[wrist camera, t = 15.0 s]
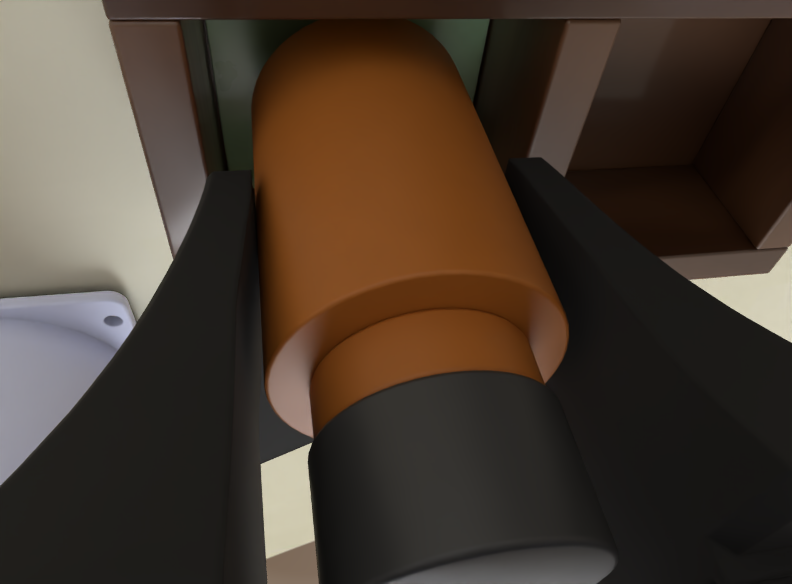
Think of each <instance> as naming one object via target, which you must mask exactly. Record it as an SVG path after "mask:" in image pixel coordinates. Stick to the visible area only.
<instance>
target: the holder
mask: <svg viewBox="0 0 792 584" xmlns="http://www.w3.org/2000/svg"><path fill="white" fill-rule="evenodd" d="M102 3H103V7H104V10H105V14H106V16H107V18H108V19H110V20H109V27H110V31H111V35H112V38H113V42H114V46H115V49H116V53H117V56H118V60H119V64H120V67H121V71H122V75H123V78H124V82H125V86H126V89H127V93H128V97H129V100H130V104H131V107H132V111H133V115H134V118H135V122H136V126H137V129H138V133H139V137H140V140H141V144H142V148H143V151H144V155H145V158H146V162H147V166H148V169H149V173H150V177H151V180H152V184H153V188H154V191H155V195H156V199H157V202H158V206H159V209H160V213H161V217H162V220H163V224H164V228H165V231H166V235H167V239H168V242H169V246H170V250H171V253H172V257H173V260H174V258H175V256H176V254H177V252H178V250H179V247H180V245H181V243H182V241H183V239H184V237H185V235H186V233H187V231H188V229H189V226H190V224H191V222H192V219H193V217H194V215H195V212H196V210H197V207H198V204H199V202H200V199H201V196H202V193H203V190H204V187H205V183H206V179H207V177H208V176H209V175H210V174H211V173H212V172H213V171H236V170H251V177H252V185H253V194H254V202H255V182H254V161H253V140H252V118H251V104H252V96H253V91H254V88H255V84H256V81H257V79H258V77H259V74H260V72H261V70H262V68H263V67H264V65H265V63H266V62H267V60H268V59H269V57H270V56H271V55H272V54H273V53H274V51H275V50H276V49H277V48H278V47H279V46H280V45H281V44H282V43H283V42H284V41H285V40H287V39H288V38H289V37H290V36H291V35H293V34H294V33H296V32H297V31H299V30H300V29H302V28H303V27H305V26H307V25H309V24H311V23H313V22H315V21H317V20H320V19H406V20H409V21H411V22H413V23H415V24H417V25H419V26H420V27H422V28H423V29H425V30H426V31H428V32H429V33H430V34H432V35H433V36H434V37H435V38H436V39H437V40H438V41H439V42H440V43H441V44H442V45H443V46H444V48H445V49H446V50H447V52H448V53H449V54H450V56H451V58H452V60H453V61H454V63H455V65H456V67H457V70H458V72H459V74H460V76H461V79H462V81H463V83H464V85H465V88H466V90H467V92H468V94H469V97H470V99H471V101H472V103H473V106H474V108H475V110H476V112H477V115H478V117H479V119H480V121H481V124H482V126H483V128H484V130H485V133H486V135H487V137H488V139H489V142H490V144H491V146H492V149H493V151H494V153H495V155H496V158H497V160H498V162H499V164H500V167H501V169H502V171H503V173H504V175H505V171H506V168H507V164H508V160H509V158H531V157H542V158H543V159H544V160H545V161H546V162H548V163H549V164H550V165H551V166H552V167H554V168H555V169H556V170H557V171H558V172H559V173H560V174H562V175H563V176H564V177H565V178H566V179H567V180H568V181H569V182H570V183H572V184H573V185H574V186H575V187H576V188H577V189H578V190H579V191H580V192H582V193H583V194H584V195H585V196H586V197H587V198H588V199H589V200H590V201H592V202H593V203H594V204H595V205H596V206H597V207H598V208H599V209H600V210H602V211H603V212H604V213H605V214H606V215H607V216H608V217H610V218H611V219H612V220H613V221H614V222H615V223H617V224H618V225H619V226H620V227H621V228H622V229H624V230H625V231H626V232H627V233H628V234H629V235H631V236H632V237H633V238H634V239H636V240H637V241H638V242H639V243H640V244H642V245H643V246H644V247H645V248H647V249H648V250H649V251H651V252H652V253H653V254H654V255H656V256H657V257H658V258H660V259H661V260H662V261H664V262H665V263H666V264H667V265H669V266H670V267H671V268H673V269H674V270H675V271H677V272H678V273H679V274H681V275H682V276H684V277H685V278H686V279H688V280H692V279H704V278H716V277H728V276H740V275H752V274H764V273H768V272H770V271H771V269H772V268H773V267H774V266H775V264H776V263H777V262H778V261H779V259H780V258H781V257H782V256H783V254H784V253H785V252H786V251H787V249H788V248H787V247H789V246H790V245H791V244H792V0H102ZM255 210H256V203H255Z"/></svg>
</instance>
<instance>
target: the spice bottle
mask: <svg viewBox="0 0 792 584" xmlns="http://www.w3.org/2000/svg"><path fill="white" fill-rule="evenodd" d="M251 118H252V140H253V161H254V182H255V203H256V224H257V245H258V267H259V288H260V309H261V330H262V351H263V372H264V389H265V393H266V397H267V400H268V401H269V403H270V405H271V407H272V409H273V410H274V412H275V413H276V414H277V415H278V416H279V417H280V419H281V420H282V421H284V422H285V423H286V424H288V425H289V426H290V427H292V428H293V429H295V430H297V431H299V432H301V433H302V434H305V435H307V436H310V437H312V438H314V440H313V443H312V446H311V448H310V451H309V455H308V469H309V480H310V491H311V502H312V513H313V524H314V535H315V546H316V556H317V568H318V578H319V584H596V583H598V582H599V581H601V580H602V579H603V578H604V577H606V576H607V575H608V574H609V573H610V572H611V571H612V570H613V569H614V568H615V567H616V565H617V563H618V558H619V551H618V548H617V546H616V543H615V541H614V538H613V536H612V533H611V531H610V528H609V525H608V523H607V520H606V518H605V515H604V513H603V510H602V508H601V505H600V502H599V500H598V497H597V495H596V492H595V490H594V487H593V485H592V482H591V479H590V477H589V474H588V472H587V469H586V467H585V464H584V462H583V459H582V456H581V454H580V451H579V449H578V446H577V444H576V441H575V439H574V436H573V433H572V431H571V428H570V426H569V423H568V421H567V418H566V416H565V413H564V410H563V408H562V405H561V403H560V400H559V399H558V397H557V396H556V395H555V394H554V393H553V392H552V391H551V390H550V389H549V388H548V387H546V385H545V383H546V382H547V381H548V380H549V379H550V377H551V376H552V375H553V374H554V373H555V371H556V370H557V368H558V367H559V365H560V363H561V362H562V360H563V358H564V355H565V353H566V350H567V346H568V341H569V323H568V320H567V316H566V313H565V311H564V309H563V306H562V304H561V302H560V300H559V297H558V295H557V293H556V291H555V288H554V286H553V284H552V282H551V279H550V277H549V275H548V273H547V270H546V268H545V266H544V264H543V261H542V259H541V257H540V255H539V252H538V250H537V248H536V245H535V243H534V241H533V239H532V236H531V234H530V232H529V230H528V227H527V225H526V223H525V221H524V218H523V216H522V214H521V212H520V209H519V207H518V205H517V203H516V200H515V198H514V196H513V194H512V191H511V189H510V187H509V185H508V182H507V180H506V178H505V176H504V173H503V171H502V169H501V167H500V164H499V162H498V160H497V158H496V155H495V153H494V151H493V149H492V146H491V144H490V142H489V139H488V137H487V135H486V133H485V130H484V128H483V126H482V124H481V121H480V119H479V117H478V115H477V112H476V110H475V108H474V106H473V103H472V101H471V99H470V97H469V94H468V92H467V90H466V88H465V85H464V83H463V81H462V79H461V76H460V74H459V72H458V70H457V67H456V65H455V63H454V61H453V60H452V58H451V56H450V54H449V53H448V52H447V50H446V49H445V48H444V46H443V45H442V44H441V43H440V42H439V41H438V40H437V39H436V38H435V37H434V36H433V35H432V34H430V33H429V32H428V31H426V30H425V29H423V28H422V27H420V26H419V25H417V24H415V23H413V22H411V21H409V20H406V19H320V20H317V21H315V22H313V23H311V24H309V25H307V26H305V27H303V28H302V29H300V30H299V31H297V32H296V33H294V34H293V35H291V36H290V37H289V38H288V39H287V40H285V41H284V42H283V43H282V44H281V45H280V46H279V47H278V48H277V49H276V50H275V51H274V53H273V54H272V55H271V56H270V57H269V59H268V60H267V62H266V63H265V65H264V67H263V68H262V70H261V72H260V74H259V77H258V79H257V81H256V84H255V88H254V91H253V96H252V104H251Z"/></svg>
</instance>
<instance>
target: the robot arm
mask: <svg viewBox="0 0 792 584" xmlns="http://www.w3.org/2000/svg"><path fill="white" fill-rule="evenodd" d="M504 176H505V178H506V180H507V182H508V185H509V187H510V189H511V191H512V194H513V196H514V198H515V200H516V203H517V205H518V207H519V209H520V212H521V214H522V216H523V218H524V221H525V223H526V225H527V227H528V230H529V232H530V234H531V236H532V239H533V241H534V243H535V245H536V248H537V250H538V252H539V255H540V257H541V259H542V261H543V264H544V266H545V268H546V270H547V273H548V275H549V277H550V279H551V282H552V284H553V286H554V288H555V291H556V293H557V295H558V297H559V300H560V302H561V304H562V306H563V309H564V311H565V313H566V316H567V320H568V323H569V341H568V346H567V350H566V353H565V355H564V358H563V360H562V362H561V363H560V365H559V367H558V368H557V370H556V371H555V373H554V374H553V375H552V376H551V377H550V379H549V380H548V381H547V382H546V383H545V385H546V387H548V388H549V389H550V390H551V391H552V392H553V393H554V394H555V395H556V396H557V397H558V399H559V400H560V403H561V405H562V408H563V410H564V413H565V416H566V418H567V421H568V423H569V426H570V428H571V431H572V433H573V436H574V439H575V441H576V444H577V446H578V449H579V451H580V454H581V456H582V459H583V462H584V464H585V467H586V469H587V472H588V474H589V477H590V479H591V482H592V485H593V487H594V490H595V492H596V495H597V497H598V500H599V502H600V505H601V508H602V510H603V513H604V515H605V518H606V520H607V523H608V525H609V528H610V531H611V533H612V536H613V538H614V541H615V543H616V546H617V548H618V551H619V558H618V563H617V565H616V567H615V568H614V569H613V570H612V571H611V572H610V573H609V574H608V575H607V576H606V577H604V578H603V579H602V580H601V581H599V582H598V583H596V584H792V343H791V342H789V341H787V340H785V339H783V338H782V337H780V336H778V335H776V334H775V333H773V332H771V331H769V330H768V329H766V328H764V327H762V326H761V325H759V324H757V323H755V322H753V321H752V320H750V319H748V318H746V317H745V316H743V315H742V314H740V313H738V312H737V311H735V310H733V309H732V308H730V307H728V306H727V305H725V304H724V303H722V302H721V301H719V300H718V299H716V298H715V297H713V296H712V295H710V294H709V293H707V292H706V291H704V290H703V289H701V288H700V287H698V286H697V285H695V284H694V283H692V282H691V281H689V280H688V279H686V278H685V277H684V276H682V275H681V274H679V273H678V272H677V271H675V270H674V269H673V268H671V267H670V266H669V265H667V264H666V263H665V262H664V261H662V260H661V259H660V258H658V257H657V256H656V255H654V254H653V253H652V252H651V251H649V250H648V249H647V248H645V247H644V246H643V245H642V244H640V243H639V242H638V241H637V240H636V239H634V238H633V237H632V236H631V235H629V234H628V233H627V232H626V231H625V230H624V229H622V228H621V227H620V226H619V225H618V224H617V223H615V222H614V221H613V220H612V219H611V218H610V217H608V216H607V215H606V214H605V213H604V212H603V211H602V210H600V209H599V208H598V207H597V206H596V205H595V204H594V203H593V202H592V201H590V200H589V199H588V198H587V197H586V196H585V195H584V194H583V193H582V192H580V191H579V190H578V189H577V188H576V187H575V186H574V185H573V184H572V183H570V182H569V181H568V180H567V179H566V178H565V177H564V176H563V175H562V174H560V173H559V172H558V171H557V170H556V169H555V168H554V167H552V166H551V165H550V164H549V163H548V162H546V161H545V160H544V159H543V158H542V157H531V158H509V160H508V164H507V168H506V171H505V175H504ZM261 366H262V330H261V309H260V288H259V267H258V245H257V224H256V210H255V202H254V194H253V185H252V177H251V170H236V171H213V172H212V173H211V174H210V175H209V176H208V177H207V179H206V183H205V187H204V190H203V193H202V196H201V199H200V202H199V204H198V207H197V210H196V212H195V215H194V217H193V219H192V222H191V224H190V226H189V229H188V231H187V233H186V235H185V237H184V239H183V241H182V243H181V245H180V247H179V250H178V252H177V254H176V256H175V258H174V260H173V262H172V264H171V266H170V268H169V269H168V271H167V273H166V275H165V277H164V278H163V280H162V282H161V283H160V285H159V287H158V289H157V290H156V292H155V294H154V296H153V297H152V299H151V301H150V303H149V304H148V306H147V308H146V309H145V311H144V312H143V314H142V315H141V317H140V319H139V320H138V322H137V323H136V321H135V318H134V315H133V313H132V310H131V307H130V305H129V302H128V300H127V299H126V297H125V296H123V295H122V294H120V293H118V292H115V291H96V292H82V293H68V294H55V295H41V296H28V297H14V298H1V299H0V584H267V571H266V555H265V538H264V520H263V502H262V484H261V465H260V446H259V410H260V388H261Z"/></svg>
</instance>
